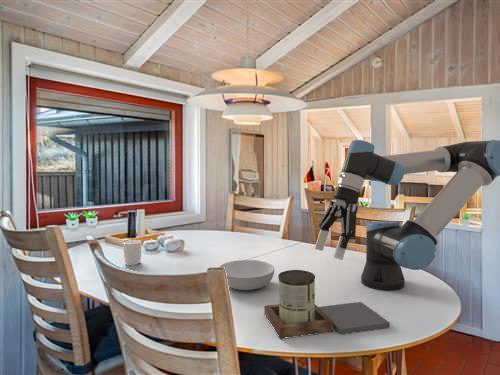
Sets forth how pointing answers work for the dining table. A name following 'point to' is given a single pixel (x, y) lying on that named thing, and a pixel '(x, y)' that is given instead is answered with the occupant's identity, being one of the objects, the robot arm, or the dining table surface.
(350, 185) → the robot arm
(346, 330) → the rubber mat
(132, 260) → the white cup
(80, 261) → the dining table surface
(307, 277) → the coffee can
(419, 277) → the dining table surface
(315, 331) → the walnut collar
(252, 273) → the serving bowl
